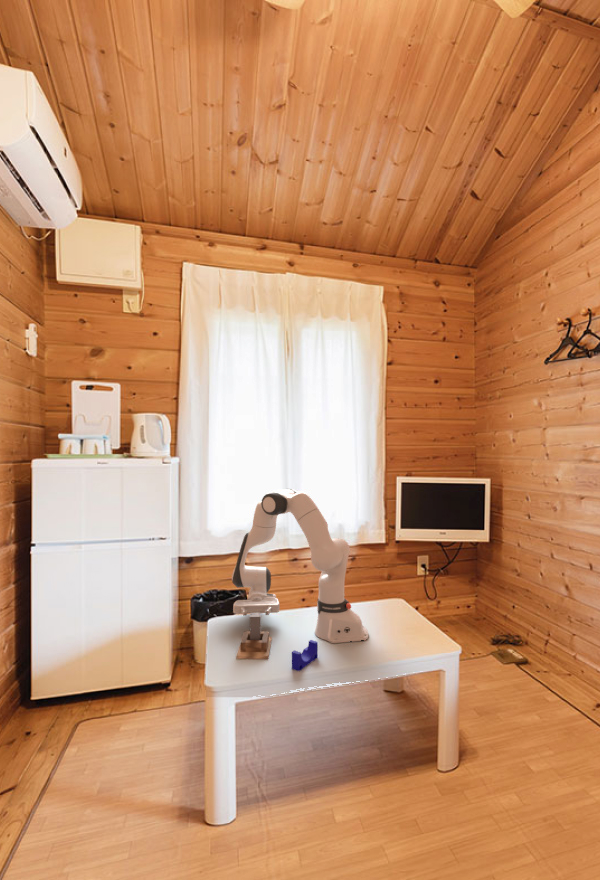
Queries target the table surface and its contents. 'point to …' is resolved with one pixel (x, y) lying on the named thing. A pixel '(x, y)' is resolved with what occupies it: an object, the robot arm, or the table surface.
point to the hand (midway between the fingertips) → (256, 613)
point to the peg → (255, 626)
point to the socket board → (254, 654)
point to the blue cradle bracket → (305, 656)
